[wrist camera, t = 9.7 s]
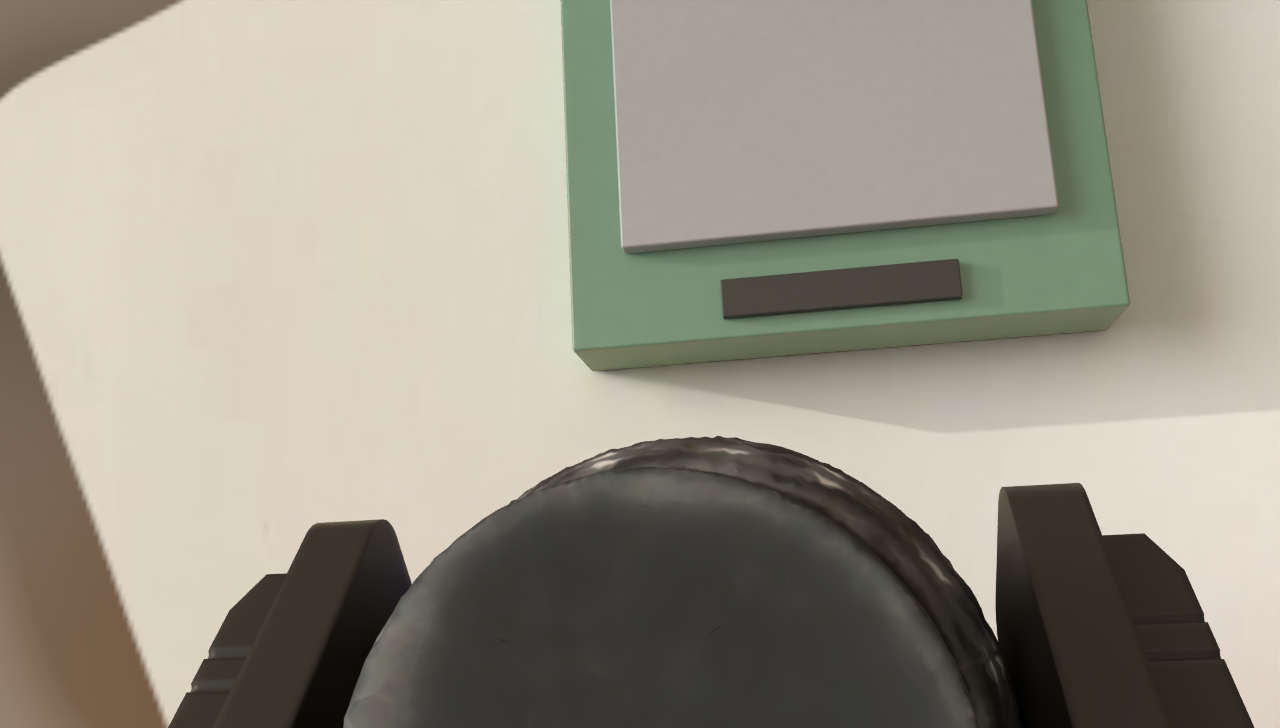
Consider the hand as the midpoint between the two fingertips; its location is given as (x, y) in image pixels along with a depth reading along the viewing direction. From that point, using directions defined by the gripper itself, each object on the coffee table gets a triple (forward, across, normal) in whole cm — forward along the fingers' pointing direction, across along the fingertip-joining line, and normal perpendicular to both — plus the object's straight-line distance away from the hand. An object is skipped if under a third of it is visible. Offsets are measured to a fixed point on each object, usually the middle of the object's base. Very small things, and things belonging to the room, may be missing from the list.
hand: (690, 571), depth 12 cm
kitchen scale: (+24, -2, +4) cm, 25 cm away
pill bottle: (+4, 0, +6) cm, 8 cm away
